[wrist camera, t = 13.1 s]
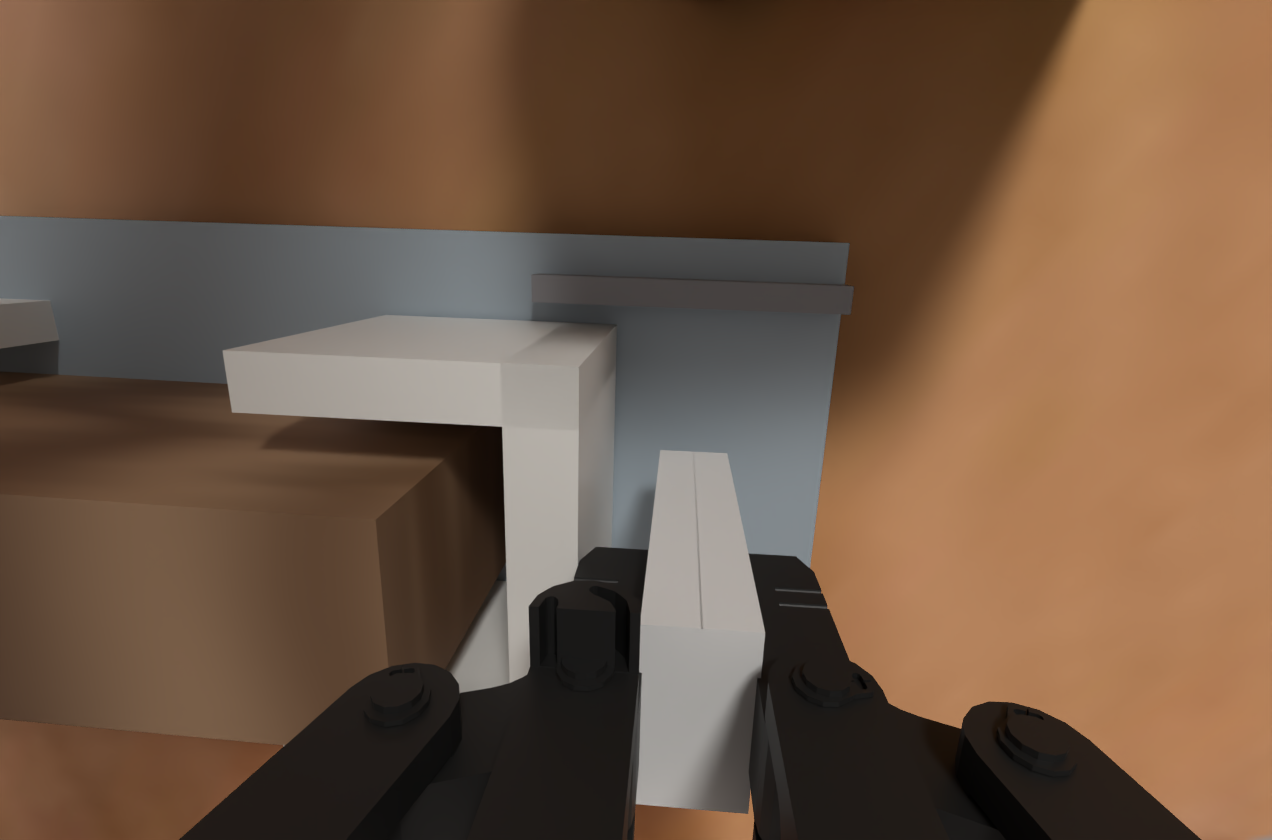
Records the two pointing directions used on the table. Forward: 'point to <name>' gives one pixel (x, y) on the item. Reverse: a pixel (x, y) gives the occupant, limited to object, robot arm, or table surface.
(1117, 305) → the table surface
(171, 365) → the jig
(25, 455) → the slat
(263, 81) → the table surface
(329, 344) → the end cap
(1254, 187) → the table surface
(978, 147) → the table surface
